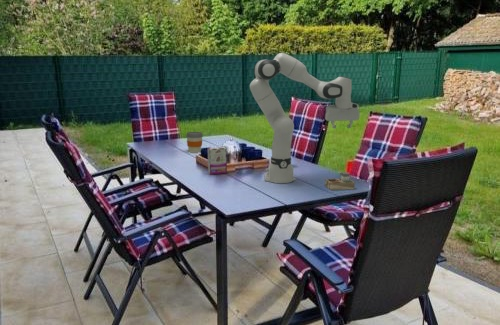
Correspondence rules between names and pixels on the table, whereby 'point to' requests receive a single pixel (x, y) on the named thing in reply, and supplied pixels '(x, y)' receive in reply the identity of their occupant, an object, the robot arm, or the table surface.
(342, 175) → the plug
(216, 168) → the candy bar box
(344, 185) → the socket block
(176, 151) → the table surface
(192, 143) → the reusable coffee cup
